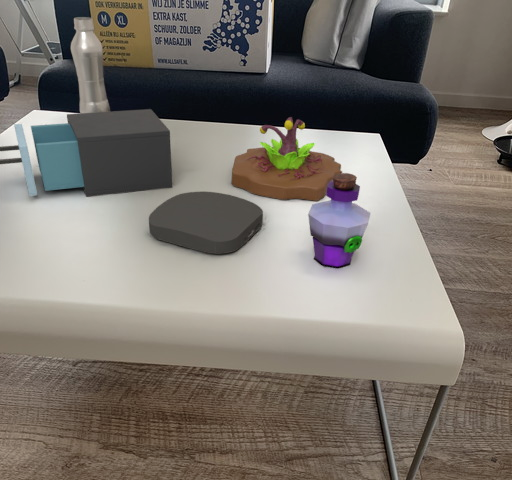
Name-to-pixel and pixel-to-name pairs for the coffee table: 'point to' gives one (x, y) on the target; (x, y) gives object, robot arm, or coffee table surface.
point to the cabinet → (122, 151)
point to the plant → (285, 167)
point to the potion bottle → (338, 223)
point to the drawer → (49, 157)
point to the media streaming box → (206, 221)
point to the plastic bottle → (89, 67)
